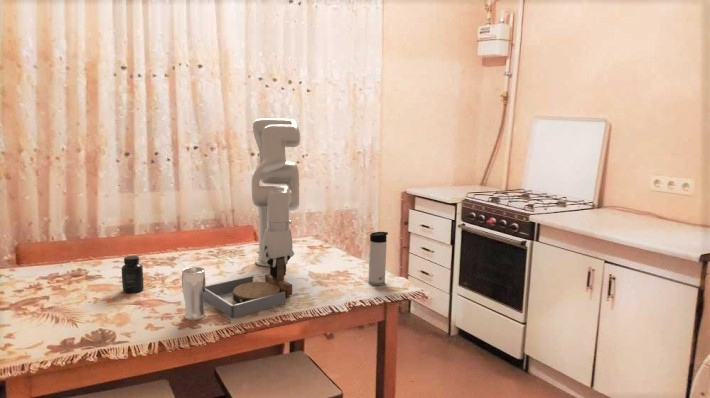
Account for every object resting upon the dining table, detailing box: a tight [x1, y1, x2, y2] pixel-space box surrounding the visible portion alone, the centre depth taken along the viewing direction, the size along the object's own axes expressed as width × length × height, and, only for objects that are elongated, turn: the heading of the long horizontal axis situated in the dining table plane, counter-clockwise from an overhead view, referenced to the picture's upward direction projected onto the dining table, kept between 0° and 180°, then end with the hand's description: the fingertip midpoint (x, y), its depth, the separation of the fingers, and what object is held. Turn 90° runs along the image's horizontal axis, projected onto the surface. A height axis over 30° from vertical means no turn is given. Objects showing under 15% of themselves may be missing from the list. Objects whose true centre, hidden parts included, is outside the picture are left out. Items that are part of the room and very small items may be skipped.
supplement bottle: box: [121, 255, 145, 294], centre depth 180 cm, size 7×7×12 cm
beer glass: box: [181, 266, 206, 321], centre depth 159 cm, size 7×7×15 cm
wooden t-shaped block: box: [264, 257, 293, 297], centre depth 182 cm, size 14×3×12 cm, turn 43°
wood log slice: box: [232, 281, 280, 304], centre depth 177 cm, size 16×16×3 cm
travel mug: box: [367, 231, 389, 287], centre depth 194 cm, size 6×7×20 cm
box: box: [203, 275, 286, 319], centre depth 174 cm, size 22×20×4 cm
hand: (278, 275), depth 182 cm, fingers closed on wooden t-shaped block, 3 cm apart
